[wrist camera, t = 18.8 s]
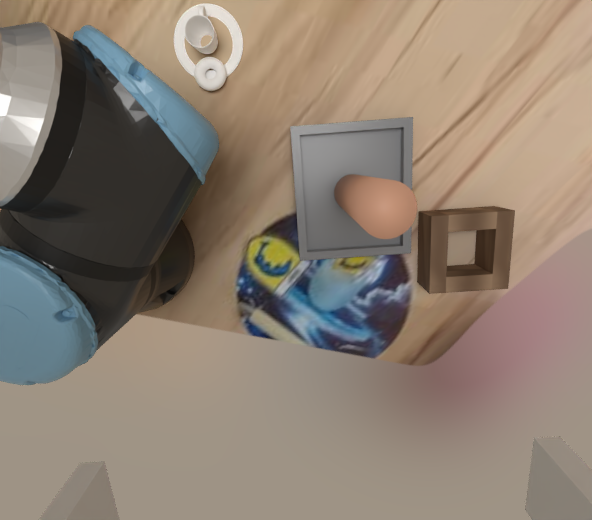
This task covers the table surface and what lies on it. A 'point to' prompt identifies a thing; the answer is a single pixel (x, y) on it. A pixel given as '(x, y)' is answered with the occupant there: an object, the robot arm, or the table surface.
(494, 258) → the socket block
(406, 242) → the tray
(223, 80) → the teacup and saucer
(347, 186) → the dowel
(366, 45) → the table surface
